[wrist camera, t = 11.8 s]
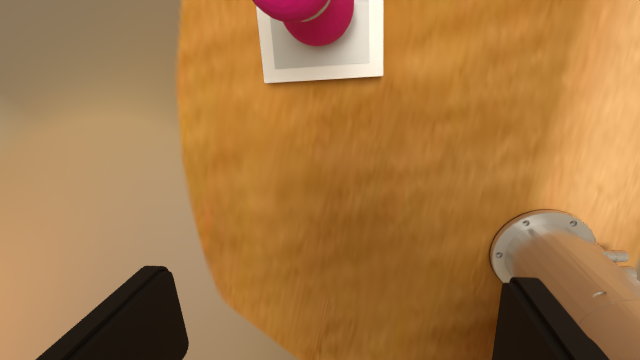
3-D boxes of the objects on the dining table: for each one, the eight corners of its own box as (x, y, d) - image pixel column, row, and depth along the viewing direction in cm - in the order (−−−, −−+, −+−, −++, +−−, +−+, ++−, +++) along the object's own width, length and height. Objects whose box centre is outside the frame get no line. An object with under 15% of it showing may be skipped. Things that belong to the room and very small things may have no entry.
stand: (381, -60, 35) (383, -72, 32) (381, 75, 39) (383, 75, 36) (258, -45, 37) (249, -55, 34) (271, 82, 41) (264, 83, 38)
